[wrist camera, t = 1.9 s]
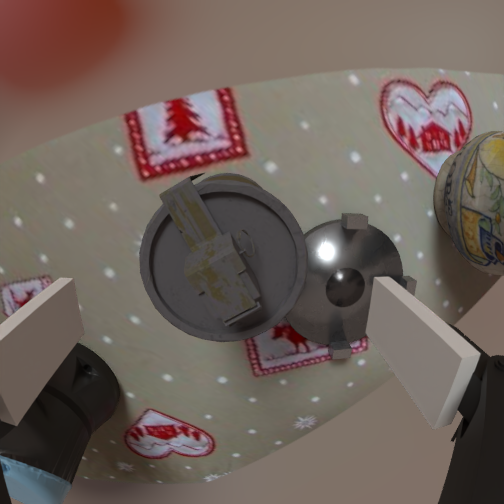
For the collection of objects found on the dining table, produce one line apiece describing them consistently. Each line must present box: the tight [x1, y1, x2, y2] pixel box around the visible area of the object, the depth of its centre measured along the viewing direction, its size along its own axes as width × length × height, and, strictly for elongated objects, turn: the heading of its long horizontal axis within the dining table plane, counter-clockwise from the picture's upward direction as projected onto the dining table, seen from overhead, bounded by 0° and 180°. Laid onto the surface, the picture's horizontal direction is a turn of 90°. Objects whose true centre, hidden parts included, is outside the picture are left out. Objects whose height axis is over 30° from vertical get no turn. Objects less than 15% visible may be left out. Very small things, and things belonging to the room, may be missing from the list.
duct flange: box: [285, 213, 417, 360], centre depth 37 cm, size 18×18×4 cm
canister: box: [139, 173, 308, 342], centre depth 26 cm, size 11×10×20 cm
